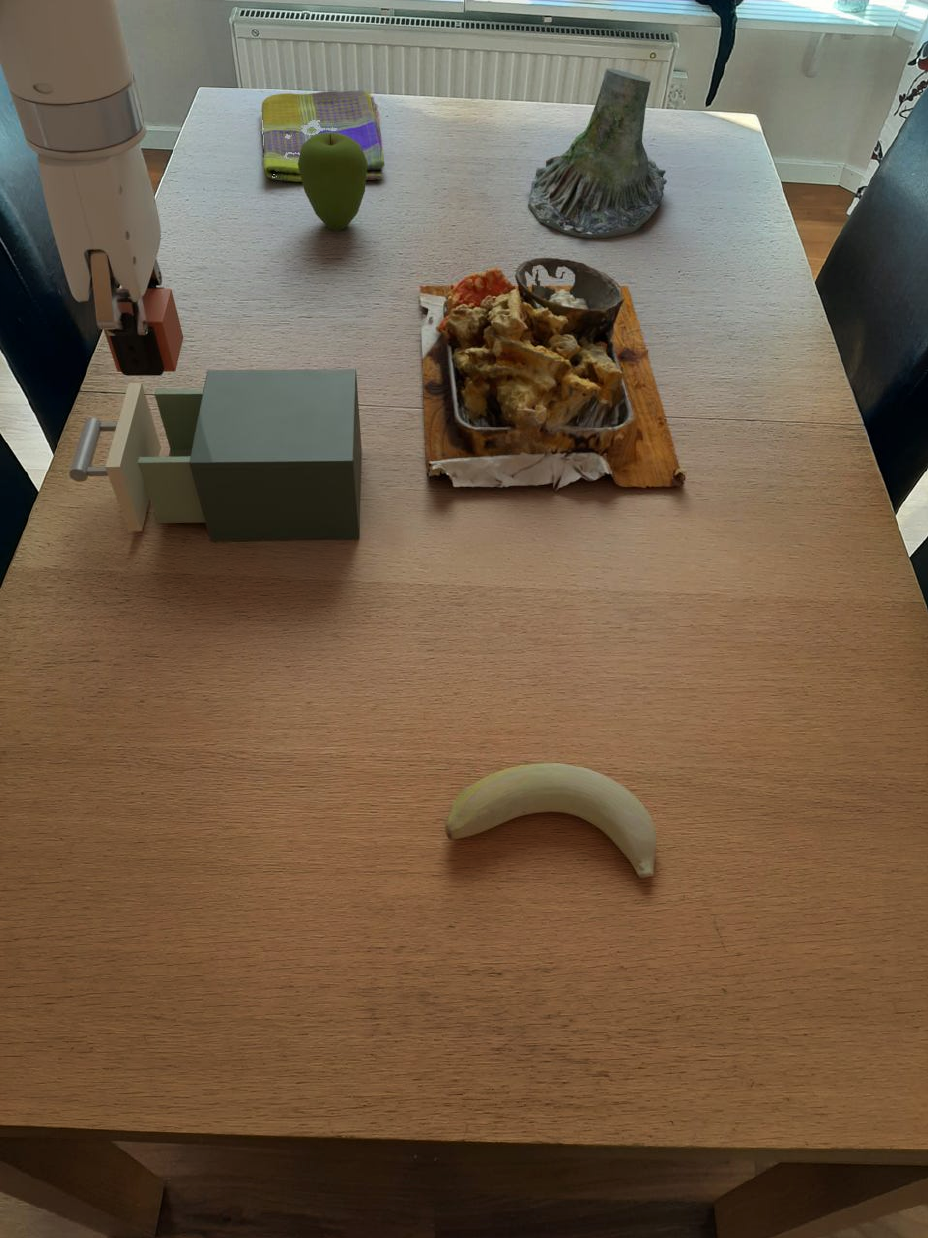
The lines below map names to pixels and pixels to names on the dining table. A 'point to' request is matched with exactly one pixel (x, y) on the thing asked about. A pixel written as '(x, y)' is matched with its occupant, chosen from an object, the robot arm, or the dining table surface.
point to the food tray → (541, 383)
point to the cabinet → (279, 455)
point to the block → (158, 325)
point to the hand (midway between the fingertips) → (149, 350)
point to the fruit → (558, 806)
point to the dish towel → (333, 109)
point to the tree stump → (603, 168)
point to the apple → (333, 177)
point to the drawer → (147, 457)
